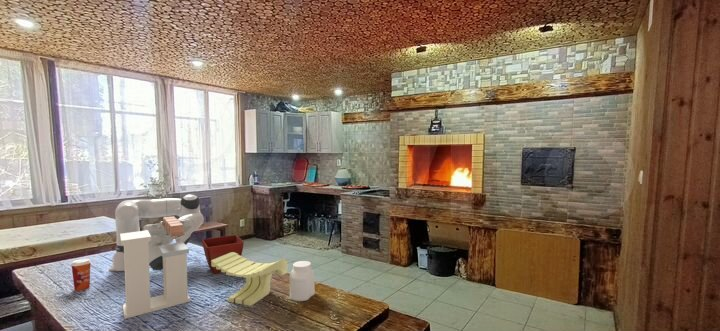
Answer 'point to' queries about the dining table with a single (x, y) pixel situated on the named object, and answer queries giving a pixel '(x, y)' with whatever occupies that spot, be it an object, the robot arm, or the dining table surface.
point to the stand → (140, 278)
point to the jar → (301, 281)
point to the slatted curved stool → (249, 276)
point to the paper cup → (81, 274)
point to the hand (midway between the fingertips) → (169, 222)
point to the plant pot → (221, 248)
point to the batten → (173, 226)
